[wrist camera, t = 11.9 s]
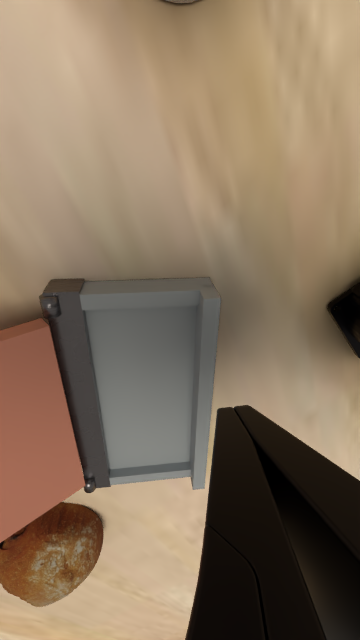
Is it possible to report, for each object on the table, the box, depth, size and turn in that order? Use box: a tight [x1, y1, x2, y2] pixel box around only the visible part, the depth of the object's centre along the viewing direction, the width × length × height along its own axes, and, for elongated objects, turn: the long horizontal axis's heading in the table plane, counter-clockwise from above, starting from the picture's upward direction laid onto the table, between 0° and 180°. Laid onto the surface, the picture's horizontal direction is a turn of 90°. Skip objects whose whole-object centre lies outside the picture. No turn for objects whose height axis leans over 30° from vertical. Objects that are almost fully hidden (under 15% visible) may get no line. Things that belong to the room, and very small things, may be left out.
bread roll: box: [0, 502, 103, 607], centre depth 30 cm, size 10×10×8 cm
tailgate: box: [0, 318, 86, 543], centre depth 19 cm, size 2×15×8 cm
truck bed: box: [80, 277, 221, 490], centre depth 23 cm, size 8×18×3 cm, turn 179°
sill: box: [39, 279, 111, 493], centre depth 22 cm, size 2×18×2 cm, turn 179°
